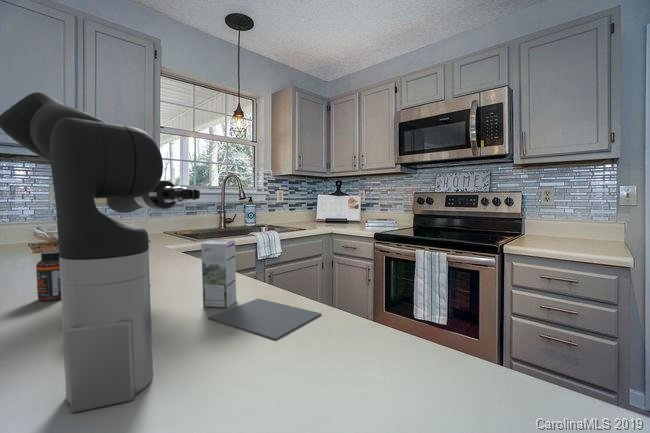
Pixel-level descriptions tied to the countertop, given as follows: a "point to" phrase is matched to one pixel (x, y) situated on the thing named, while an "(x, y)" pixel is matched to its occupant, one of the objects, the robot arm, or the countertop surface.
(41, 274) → the supplement bottle
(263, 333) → the mat
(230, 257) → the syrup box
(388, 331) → the countertop surface
